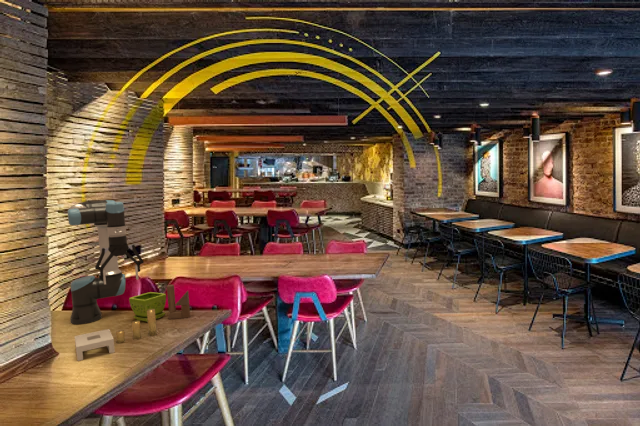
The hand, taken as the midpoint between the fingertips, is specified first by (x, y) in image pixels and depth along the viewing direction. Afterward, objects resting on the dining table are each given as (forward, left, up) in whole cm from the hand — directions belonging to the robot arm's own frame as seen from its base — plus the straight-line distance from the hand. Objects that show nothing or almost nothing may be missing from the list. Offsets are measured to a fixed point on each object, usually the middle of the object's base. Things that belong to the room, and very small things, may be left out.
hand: (121, 281), depth 194 cm
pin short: (+1, -2, -28) cm, 28 cm away
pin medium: (+1, +5, -28) cm, 28 cm away
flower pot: (-27, +15, -28) cm, 42 cm away
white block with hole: (+5, -13, -28) cm, 31 cm away
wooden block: (-17, +29, -28) cm, 44 cm away
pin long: (+1, +12, -28) cm, 30 cm away
